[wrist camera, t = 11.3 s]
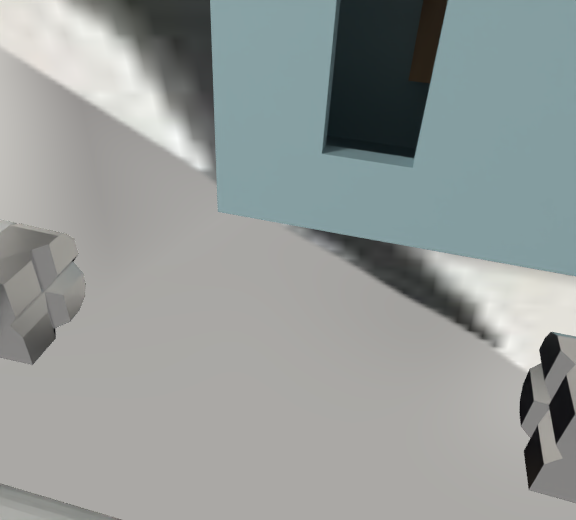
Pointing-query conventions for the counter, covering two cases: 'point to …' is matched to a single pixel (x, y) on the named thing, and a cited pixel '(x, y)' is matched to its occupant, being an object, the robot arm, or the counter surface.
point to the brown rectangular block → (427, 40)
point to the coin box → (402, 124)
